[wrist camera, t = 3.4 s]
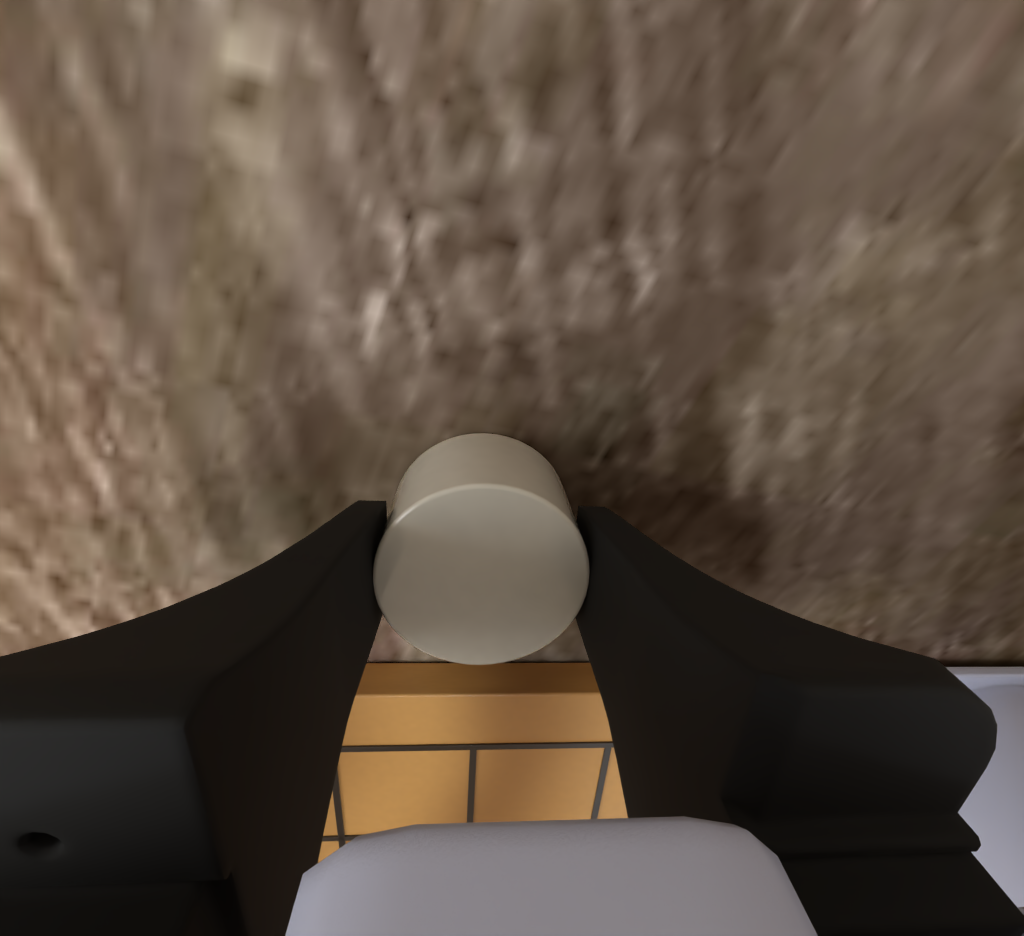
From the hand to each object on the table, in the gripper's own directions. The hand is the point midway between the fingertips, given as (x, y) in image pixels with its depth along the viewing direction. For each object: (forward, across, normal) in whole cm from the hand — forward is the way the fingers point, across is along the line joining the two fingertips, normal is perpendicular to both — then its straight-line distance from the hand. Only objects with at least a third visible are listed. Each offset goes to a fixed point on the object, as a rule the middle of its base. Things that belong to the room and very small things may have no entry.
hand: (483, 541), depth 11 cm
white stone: (+1, 0, 0) cm, 1 cm away
